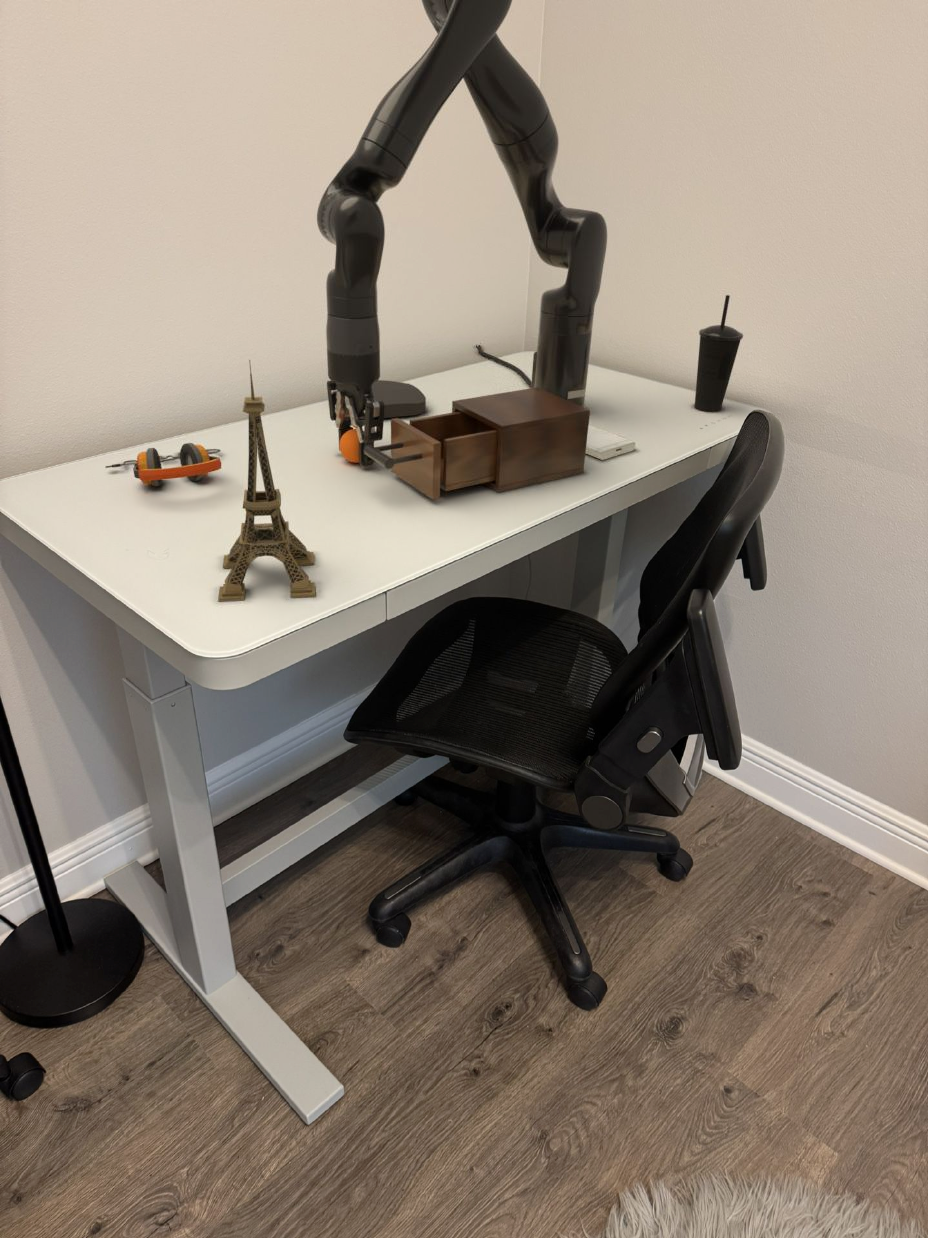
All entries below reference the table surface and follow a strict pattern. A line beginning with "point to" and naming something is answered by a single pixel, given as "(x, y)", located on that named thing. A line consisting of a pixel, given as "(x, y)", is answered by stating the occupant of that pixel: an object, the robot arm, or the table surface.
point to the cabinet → (531, 435)
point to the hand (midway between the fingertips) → (356, 457)
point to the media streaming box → (398, 398)
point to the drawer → (440, 452)
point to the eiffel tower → (269, 535)
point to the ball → (350, 446)
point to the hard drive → (606, 444)
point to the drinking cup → (715, 363)
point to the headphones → (192, 466)
